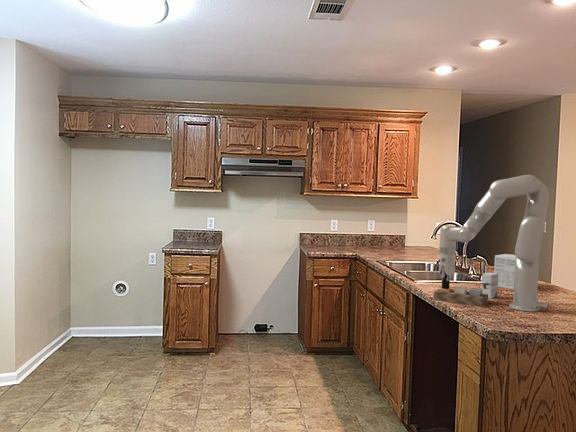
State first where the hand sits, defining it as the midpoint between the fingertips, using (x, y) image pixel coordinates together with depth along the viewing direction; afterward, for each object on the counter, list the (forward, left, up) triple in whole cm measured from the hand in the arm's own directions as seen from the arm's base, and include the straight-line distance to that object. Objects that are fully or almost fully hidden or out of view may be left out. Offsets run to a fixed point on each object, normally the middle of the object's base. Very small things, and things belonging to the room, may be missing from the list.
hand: (445, 288), depth 235 cm
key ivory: (-7, 0, -3) cm, 8 cm away
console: (-7, 0, -5) cm, 9 cm away
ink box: (-15, -21, -5) cm, 27 cm away
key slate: (-14, 0, -2) cm, 15 cm away
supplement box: (-17, -58, -5) cm, 61 cm away
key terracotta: (0, 0, -4) cm, 4 cm away
